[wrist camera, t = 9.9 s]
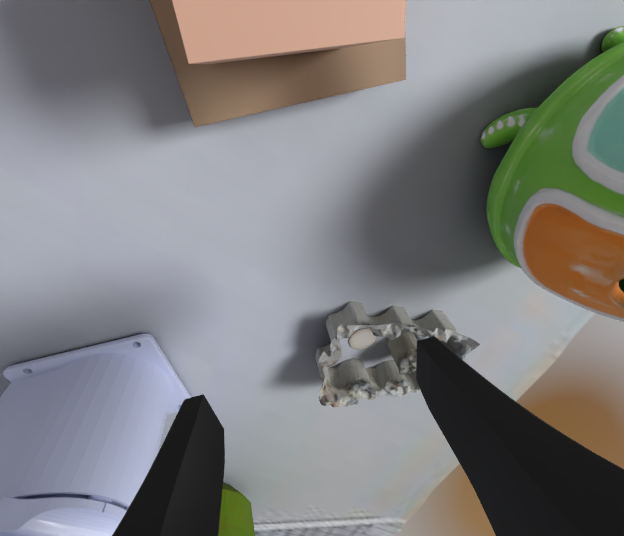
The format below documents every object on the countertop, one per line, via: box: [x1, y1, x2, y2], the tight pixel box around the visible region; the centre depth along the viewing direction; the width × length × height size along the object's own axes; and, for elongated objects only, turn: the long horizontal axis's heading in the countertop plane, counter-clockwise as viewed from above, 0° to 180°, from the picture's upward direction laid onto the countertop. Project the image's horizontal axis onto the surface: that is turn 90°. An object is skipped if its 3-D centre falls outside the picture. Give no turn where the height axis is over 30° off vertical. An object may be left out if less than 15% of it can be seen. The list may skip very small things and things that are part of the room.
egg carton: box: [315, 302, 480, 407], centre depth 24 cm, size 11×8×4 cm
